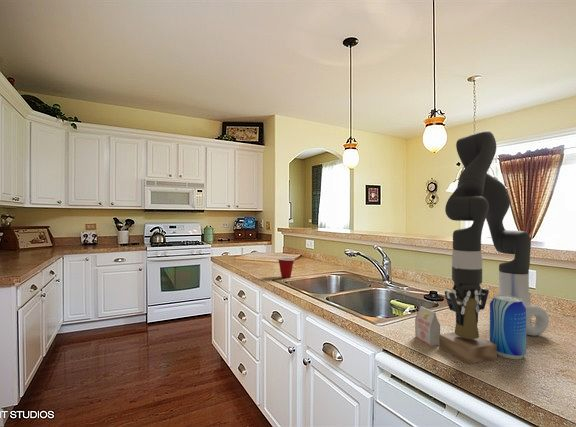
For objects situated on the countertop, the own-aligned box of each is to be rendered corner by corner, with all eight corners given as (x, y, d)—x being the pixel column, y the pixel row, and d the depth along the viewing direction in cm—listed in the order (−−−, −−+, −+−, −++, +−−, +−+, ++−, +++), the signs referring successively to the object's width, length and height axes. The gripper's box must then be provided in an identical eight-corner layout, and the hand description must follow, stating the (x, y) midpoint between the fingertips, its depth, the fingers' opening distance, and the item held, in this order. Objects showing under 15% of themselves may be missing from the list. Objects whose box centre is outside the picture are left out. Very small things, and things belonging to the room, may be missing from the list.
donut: (523, 338, 96) (523, 307, 96) (514, 333, 99) (514, 303, 99) (552, 337, 97) (552, 306, 97) (542, 332, 100) (542, 303, 100)
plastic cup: (298, 277, 185) (298, 258, 185) (283, 279, 180) (283, 260, 180) (289, 274, 194) (289, 256, 194) (274, 276, 189) (274, 257, 189)
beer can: (514, 363, 80) (514, 303, 80) (483, 350, 88) (483, 295, 88) (533, 357, 84) (532, 299, 83) (501, 344, 91) (501, 292, 91)
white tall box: (424, 335, 98) (424, 305, 98) (440, 344, 92) (440, 312, 92) (415, 337, 97) (415, 306, 97) (430, 345, 91) (430, 313, 91)
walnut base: (466, 343, 92) (466, 330, 92) (496, 358, 82) (496, 344, 82) (439, 347, 90) (439, 334, 90) (467, 363, 80) (467, 349, 80)
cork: (482, 339, 83) (482, 300, 82) (458, 338, 84) (458, 298, 84) (473, 331, 88) (473, 294, 88) (451, 329, 90) (451, 293, 90)
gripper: (475, 262, 91) (475, 318, 92) (436, 264, 88) (436, 323, 88) (498, 266, 84) (498, 327, 84) (457, 269, 80) (457, 333, 81)
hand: (466, 324), depth 86 cm, fingers closed on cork, 3 cm apart
